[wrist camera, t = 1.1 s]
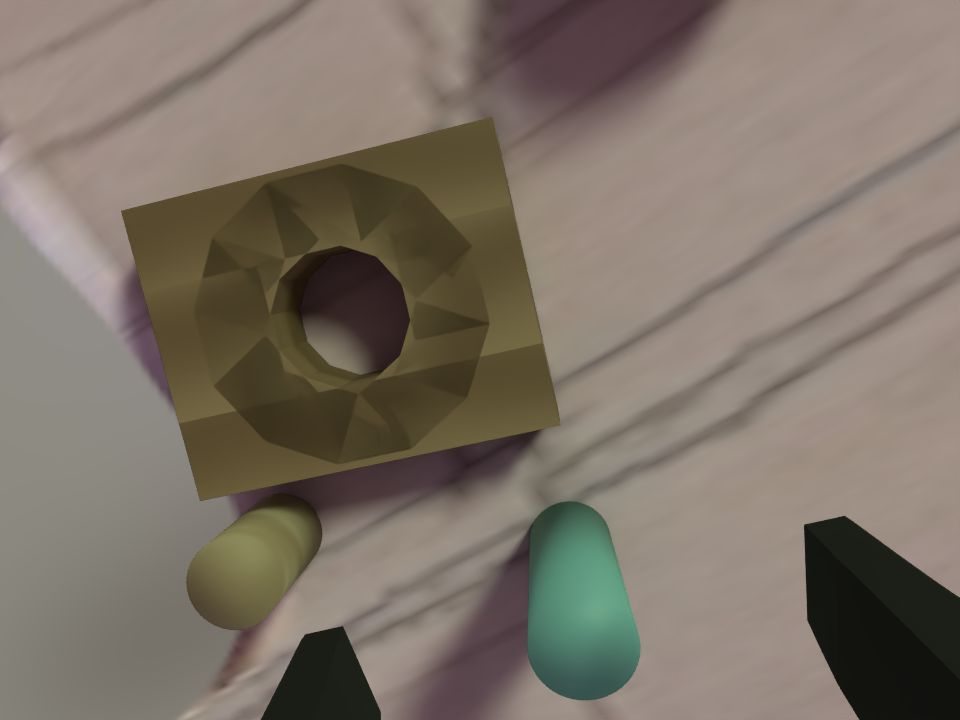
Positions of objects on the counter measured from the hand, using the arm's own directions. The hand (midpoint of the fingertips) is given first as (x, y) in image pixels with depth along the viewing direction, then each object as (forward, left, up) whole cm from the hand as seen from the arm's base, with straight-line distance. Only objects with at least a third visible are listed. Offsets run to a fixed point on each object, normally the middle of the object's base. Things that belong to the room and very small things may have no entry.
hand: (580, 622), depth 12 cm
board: (+5, +5, -11) cm, 13 cm away
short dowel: (-1, +9, -11) cm, 14 cm away
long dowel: (-3, 0, -11) cm, 11 cm away
